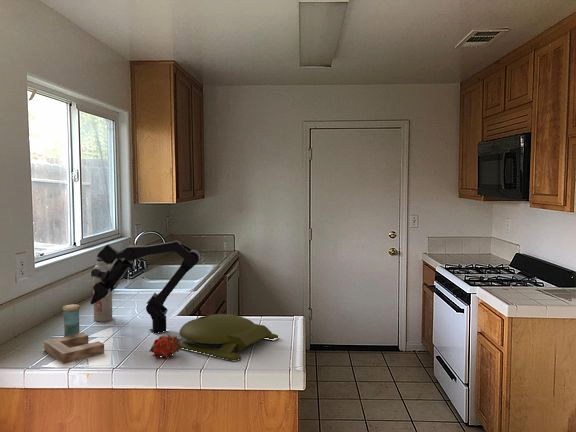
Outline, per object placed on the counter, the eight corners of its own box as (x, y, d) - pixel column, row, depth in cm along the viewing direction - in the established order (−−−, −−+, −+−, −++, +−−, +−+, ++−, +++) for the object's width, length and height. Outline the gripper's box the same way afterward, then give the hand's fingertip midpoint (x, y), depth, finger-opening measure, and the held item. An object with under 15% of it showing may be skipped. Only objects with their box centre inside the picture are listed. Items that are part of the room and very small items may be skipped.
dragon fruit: (183, 357, 182) (152, 369, 175) (174, 340, 187) (143, 350, 180) (186, 344, 177) (154, 355, 170) (177, 326, 182) (145, 336, 175)
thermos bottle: (102, 322, 220) (101, 260, 219) (89, 319, 224) (89, 258, 222) (116, 318, 227) (115, 258, 226) (103, 315, 231) (103, 256, 229)
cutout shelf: (83, 341, 195) (83, 332, 195) (104, 353, 182) (104, 344, 181) (44, 350, 185) (44, 341, 184) (63, 363, 171) (63, 354, 171)
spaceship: (281, 339, 199) (281, 316, 199) (235, 364, 173) (235, 336, 172) (213, 326, 217) (213, 304, 216) (162, 346, 191) (162, 321, 190)
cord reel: (82, 338, 198) (81, 306, 197) (65, 341, 194) (64, 309, 193) (78, 334, 203) (77, 303, 202) (61, 337, 200) (60, 306, 199)
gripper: (107, 256, 213) (86, 284, 214) (94, 263, 195) (70, 295, 195) (128, 271, 215) (107, 299, 215) (117, 280, 196) (93, 311, 196)
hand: (94, 301), depth 205 cm, fingers open, 9 cm apart
